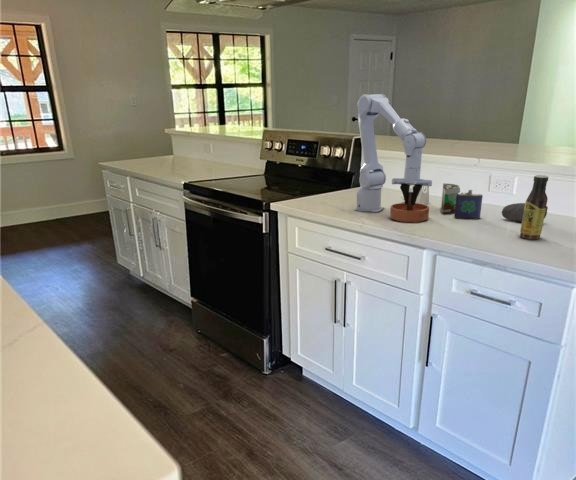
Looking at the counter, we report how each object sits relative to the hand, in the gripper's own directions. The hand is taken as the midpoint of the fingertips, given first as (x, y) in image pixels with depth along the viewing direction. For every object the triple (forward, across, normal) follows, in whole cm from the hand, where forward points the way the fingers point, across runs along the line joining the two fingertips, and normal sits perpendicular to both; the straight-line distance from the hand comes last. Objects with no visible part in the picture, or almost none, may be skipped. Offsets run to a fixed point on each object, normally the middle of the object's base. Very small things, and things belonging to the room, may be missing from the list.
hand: (410, 204), depth 190 cm
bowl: (+5, 0, 0) cm, 5 cm away
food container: (+6, -12, -17) cm, 21 cm away
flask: (+6, -20, -8) cm, 22 cm away
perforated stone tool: (+6, -39, -9) cm, 40 cm away
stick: (+3, 0, 0) cm, 3 cm away
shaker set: (+6, +5, -28) cm, 29 cm away
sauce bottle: (+6, -43, +12) cm, 45 cm away
